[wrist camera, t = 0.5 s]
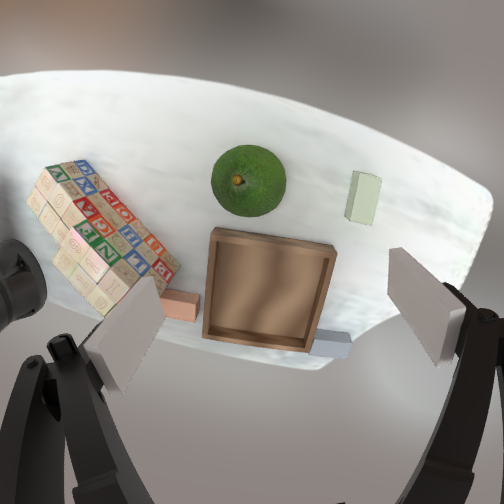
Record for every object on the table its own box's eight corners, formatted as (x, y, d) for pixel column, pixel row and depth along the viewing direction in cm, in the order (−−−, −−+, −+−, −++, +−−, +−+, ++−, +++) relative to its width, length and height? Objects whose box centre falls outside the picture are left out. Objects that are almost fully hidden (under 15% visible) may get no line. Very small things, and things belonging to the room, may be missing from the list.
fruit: (273, 137, 34) (276, 131, 23) (291, 197, 36) (301, 220, 25) (212, 155, 35) (186, 160, 24) (231, 214, 38) (215, 244, 26)
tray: (205, 326, 44) (201, 337, 41) (215, 227, 38) (210, 233, 35) (306, 340, 44) (308, 352, 41) (332, 245, 38) (337, 253, 35)
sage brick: (364, 219, 37) (371, 225, 34) (343, 215, 37) (349, 221, 34) (374, 175, 35) (382, 178, 32) (353, 170, 35) (360, 172, 32)
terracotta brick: (161, 304, 43) (154, 314, 40) (161, 287, 42) (154, 296, 39) (199, 311, 43) (194, 322, 40) (200, 294, 42) (195, 304, 39)
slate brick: (306, 343, 44) (308, 355, 41) (311, 327, 43) (314, 339, 40) (342, 347, 44) (345, 358, 41) (348, 332, 43) (352, 343, 40)
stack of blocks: (64, 189, 38) (9, 207, 26) (85, 158, 36) (28, 168, 24) (155, 290, 42) (121, 337, 31) (182, 265, 41) (152, 310, 29)
